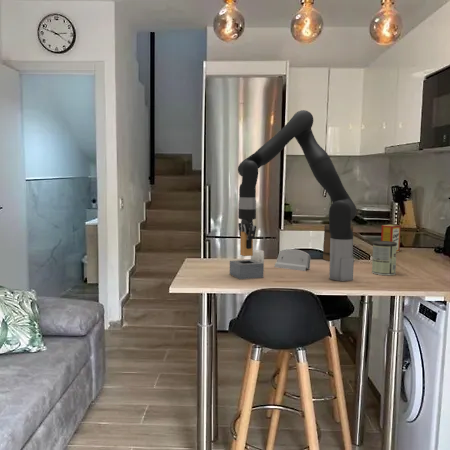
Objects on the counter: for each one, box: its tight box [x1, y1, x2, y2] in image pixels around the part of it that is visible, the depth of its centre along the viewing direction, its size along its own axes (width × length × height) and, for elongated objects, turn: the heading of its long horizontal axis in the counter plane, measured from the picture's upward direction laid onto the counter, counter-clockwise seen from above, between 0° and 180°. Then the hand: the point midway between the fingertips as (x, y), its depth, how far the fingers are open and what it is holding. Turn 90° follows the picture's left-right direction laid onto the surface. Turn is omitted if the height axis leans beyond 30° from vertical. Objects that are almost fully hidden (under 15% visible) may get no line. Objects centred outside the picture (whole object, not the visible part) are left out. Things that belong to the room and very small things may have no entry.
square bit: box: [240, 232, 254, 257], centre depth 204 cm, size 4×4×10 cm
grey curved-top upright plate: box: [274, 248, 311, 272], centre depth 225 cm, size 17×5×10 cm, turn 55°
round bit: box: [250, 249, 265, 265], centre depth 218 cm, size 6×6×9 cm
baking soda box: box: [380, 224, 401, 252], centre depth 278 cm, size 10×6×16 cm
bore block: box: [229, 259, 265, 280], centre depth 205 cm, size 11×11×6 cm
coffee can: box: [371, 240, 397, 276], centre depth 213 cm, size 10×10×14 cm
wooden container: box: [322, 223, 354, 262], centre depth 249 cm, size 15×15×22 cm
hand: (246, 247), depth 204 cm, fingers closed on square bit, 4 cm apart
